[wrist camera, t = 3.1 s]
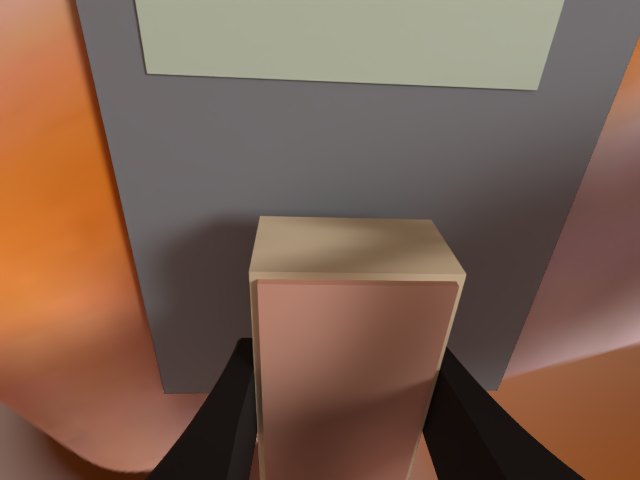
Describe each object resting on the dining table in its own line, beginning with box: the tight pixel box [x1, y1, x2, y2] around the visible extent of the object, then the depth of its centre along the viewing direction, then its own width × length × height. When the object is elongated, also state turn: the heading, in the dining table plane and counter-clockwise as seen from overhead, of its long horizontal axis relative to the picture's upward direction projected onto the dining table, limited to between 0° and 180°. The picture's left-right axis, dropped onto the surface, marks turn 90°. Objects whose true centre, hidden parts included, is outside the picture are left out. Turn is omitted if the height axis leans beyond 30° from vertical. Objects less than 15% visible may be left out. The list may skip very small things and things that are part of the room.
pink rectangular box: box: [249, 216, 467, 480], centre depth 12 cm, size 5×9×3 cm, turn 177°
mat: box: [76, 0, 640, 394], centre depth 12 cm, size 15×22×1 cm
